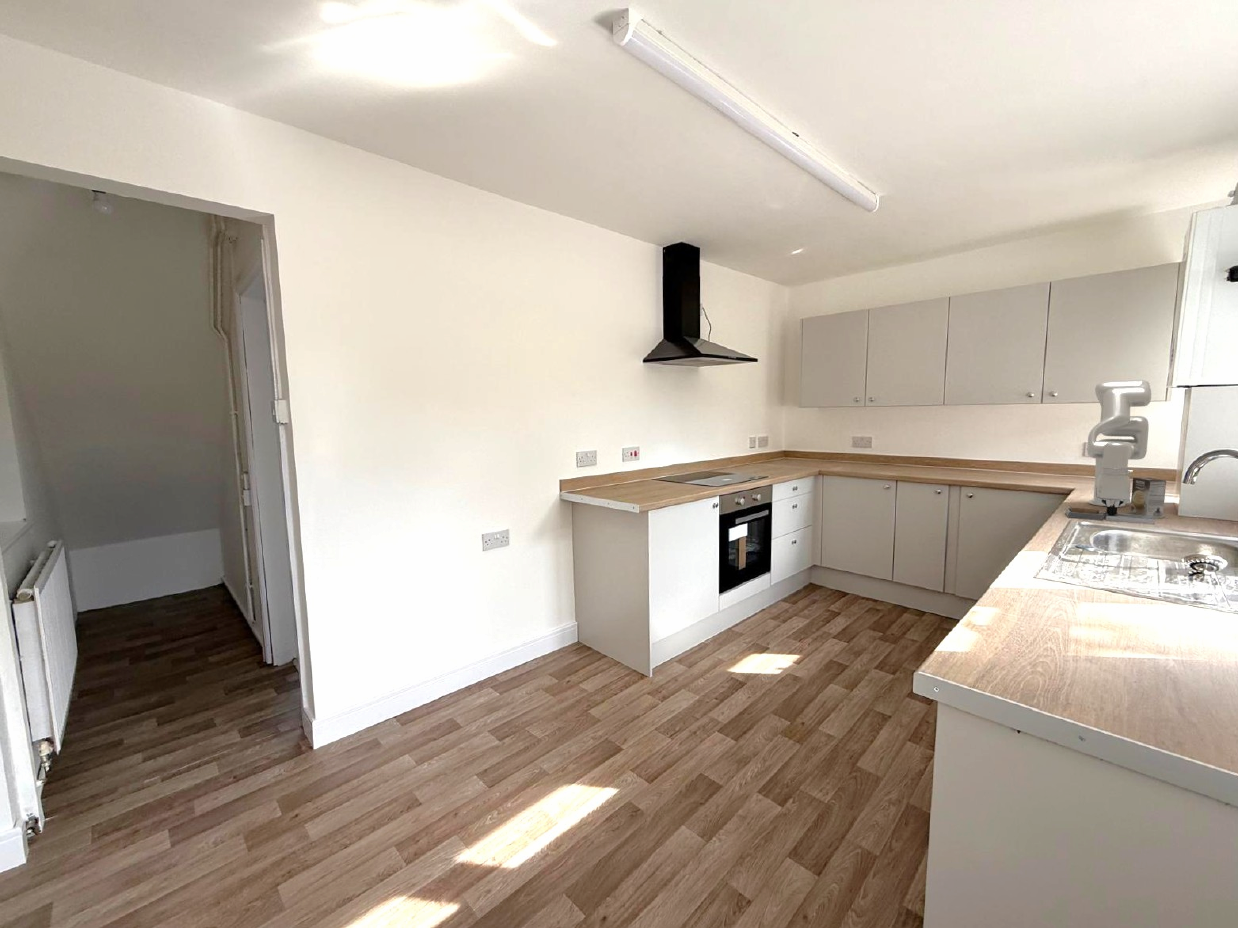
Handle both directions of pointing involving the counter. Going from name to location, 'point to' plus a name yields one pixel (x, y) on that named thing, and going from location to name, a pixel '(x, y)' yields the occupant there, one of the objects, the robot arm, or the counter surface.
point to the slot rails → (1129, 518)
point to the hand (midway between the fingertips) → (1111, 515)
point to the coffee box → (1148, 497)
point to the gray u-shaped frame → (1083, 515)
